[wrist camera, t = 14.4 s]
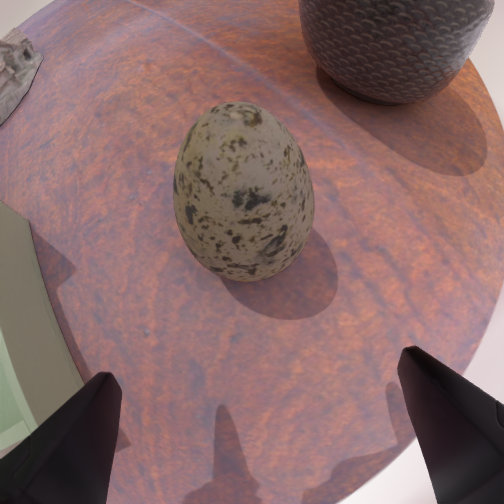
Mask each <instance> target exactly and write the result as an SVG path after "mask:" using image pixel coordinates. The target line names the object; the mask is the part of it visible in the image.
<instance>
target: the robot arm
mask: <svg viewBox="0 0 504 504" xmlns="http://www.w3.org/2000/svg"><path fill="white" fill-rule="evenodd" d="M397 371H398V375H399V379H400V383H401V387H402V390H403V394H404V398H405V402H406V406H407V410H408V413H409V416H410V419H411V422H412V425H413V427H414V430H415V433H416V436H417V439H418V442H419V445H420V448H421V451H422V454H423V457H424V459H425V463H426V466H427V469H428V472H429V476H430V479H431V482H432V486H433V489H434V493H435V496H436V500H437V503H438V504H504V405H503V404H502V403H500V402H499V401H498V400H495V399H494V398H493V397H492V396H490V395H489V394H487V393H486V392H484V391H483V390H481V389H480V388H478V387H477V386H475V385H474V384H473V383H471V382H469V381H468V380H467V379H465V378H464V377H462V376H461V375H459V374H458V373H456V372H455V371H453V370H452V369H450V368H449V367H447V366H446V365H444V364H443V363H441V362H440V361H438V360H437V359H435V358H434V357H432V356H431V355H429V354H428V353H426V352H425V351H423V350H422V349H420V348H419V347H417V346H410V347H406V348H404V349H403V350H402V353H401V357H400V360H399V363H398V367H397ZM121 400H122V390H121V387H120V386H119V384H118V382H117V380H116V379H115V377H114V375H113V374H112V373H111V372H99V373H98V374H96V375H95V376H94V377H93V378H92V379H91V380H90V381H89V382H87V383H86V384H85V385H84V386H83V387H82V388H81V389H80V390H79V391H77V392H76V393H75V394H74V395H73V396H72V397H71V398H70V399H68V400H67V401H66V402H65V403H64V404H63V405H62V406H61V407H60V408H58V409H57V410H56V411H55V412H54V413H53V414H52V415H51V416H50V417H48V418H47V419H46V420H45V421H44V422H43V423H42V424H41V425H40V426H39V427H37V428H36V429H35V430H34V431H33V432H32V433H31V434H30V435H29V436H27V437H26V438H25V439H24V440H23V441H22V442H21V443H20V444H18V445H17V446H16V447H15V448H14V449H13V450H11V451H10V452H9V453H8V454H6V455H5V456H4V457H2V458H1V459H0V504H106V500H107V493H108V487H109V480H110V474H111V468H112V463H113V457H114V452H115V447H116V442H117V436H118V429H119V419H120V409H121Z"/></svg>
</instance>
